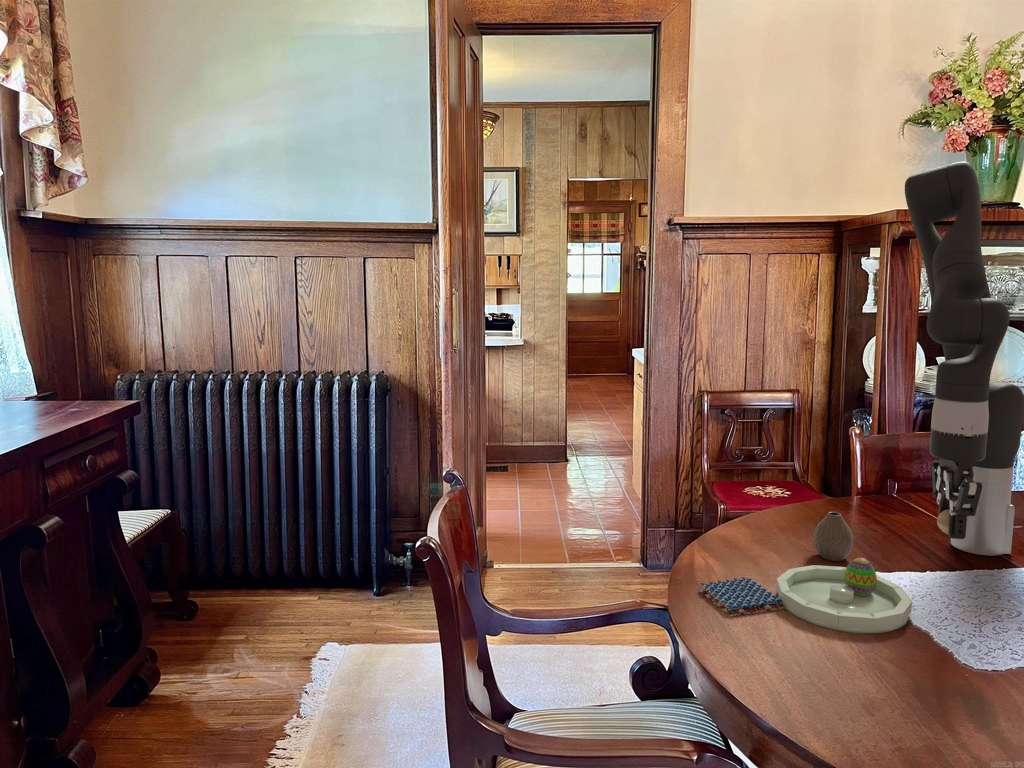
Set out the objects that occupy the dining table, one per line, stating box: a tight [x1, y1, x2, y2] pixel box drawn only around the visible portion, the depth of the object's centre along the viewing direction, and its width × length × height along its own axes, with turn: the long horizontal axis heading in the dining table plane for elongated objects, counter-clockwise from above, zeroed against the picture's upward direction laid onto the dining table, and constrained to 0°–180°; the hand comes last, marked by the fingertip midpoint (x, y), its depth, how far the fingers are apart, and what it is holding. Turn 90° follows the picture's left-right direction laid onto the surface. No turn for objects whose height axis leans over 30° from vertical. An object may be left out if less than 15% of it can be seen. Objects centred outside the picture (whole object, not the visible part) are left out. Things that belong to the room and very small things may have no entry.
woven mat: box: [699, 576, 785, 617], centre depth 121 cm, size 10×11×2 cm
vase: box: [813, 511, 854, 562], centre depth 138 cm, size 7×7×9 cm
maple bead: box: [936, 509, 967, 535], centre depth 114 cm, size 4×4×4 cm
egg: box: [844, 557, 877, 596], centre depth 121 cm, size 5×5×6 cm
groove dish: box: [776, 564, 913, 634], centre depth 119 cm, size 20×20×3 cm
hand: (951, 532), depth 114 cm, fingers closed on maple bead, 4 cm apart
